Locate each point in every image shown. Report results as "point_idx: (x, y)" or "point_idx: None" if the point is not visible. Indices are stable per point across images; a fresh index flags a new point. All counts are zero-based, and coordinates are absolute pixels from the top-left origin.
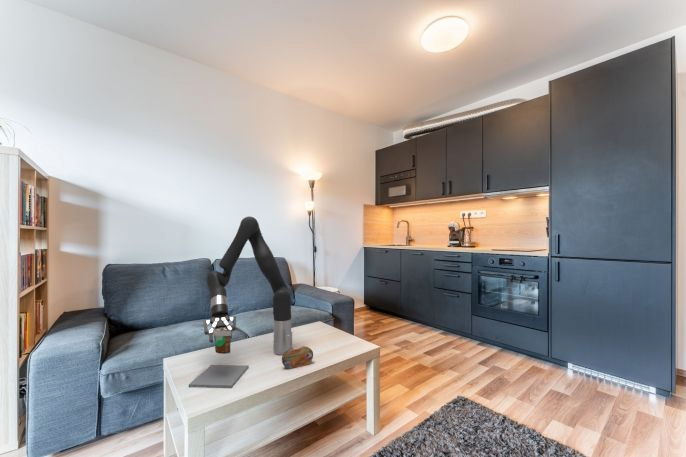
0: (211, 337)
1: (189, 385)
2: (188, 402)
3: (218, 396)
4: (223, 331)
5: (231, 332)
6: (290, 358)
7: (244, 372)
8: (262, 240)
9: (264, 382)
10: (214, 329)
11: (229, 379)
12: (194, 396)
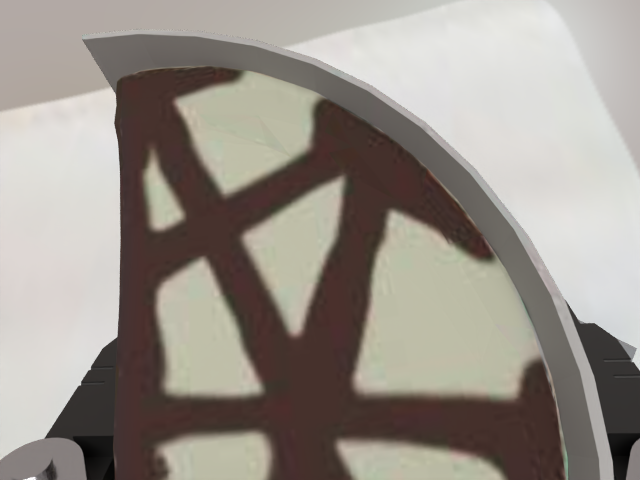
0: (581, 338)
1: (625, 345)
2: (579, 118)
3: None
4: (283, 54)
5: (69, 414)
6: None
7: None
8: None
9: (62, 171)
10: (575, 344)
11: None
12: (550, 179)
